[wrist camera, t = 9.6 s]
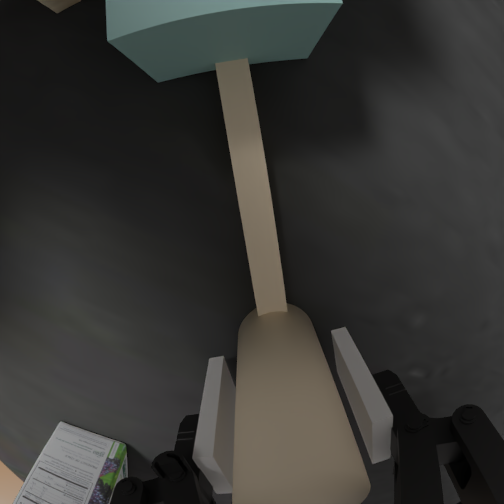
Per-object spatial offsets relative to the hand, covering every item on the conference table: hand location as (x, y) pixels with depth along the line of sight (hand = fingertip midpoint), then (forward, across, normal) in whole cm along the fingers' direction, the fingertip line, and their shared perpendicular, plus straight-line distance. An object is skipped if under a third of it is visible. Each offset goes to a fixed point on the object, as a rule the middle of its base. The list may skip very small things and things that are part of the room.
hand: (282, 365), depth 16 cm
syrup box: (+1, -16, -7) cm, 18 cm away
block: (+1, +1, +10) cm, 10 cm away
